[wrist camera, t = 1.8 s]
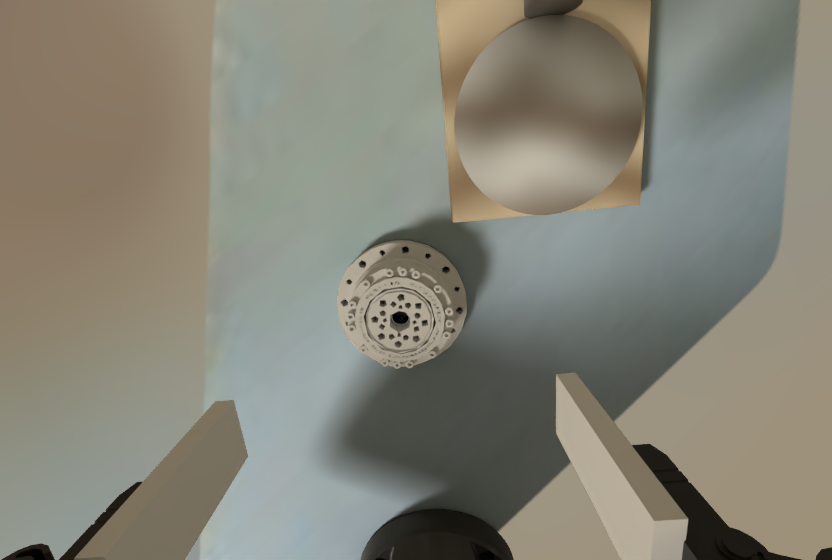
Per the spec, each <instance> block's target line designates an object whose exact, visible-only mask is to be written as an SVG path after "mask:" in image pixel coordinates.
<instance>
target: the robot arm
mask: <svg viewBox="0 0 832 560" xmlns="http://www.w3.org/2000/svg"><path fill="white" fill-rule="evenodd" d="M556 434H557V436H558V438H559V440H560V442H561V444H562V446H563V448H564V450H565V451H566V453H567V455H568V457H569V459H570V461H571V463H572V465H573V467H574V469H575V471H576V473H577V475H578V477H579V479H580V480H581V482H582V484H583V486H584V488H585V490H586V492H587V494H588V496H589V498H590V500H591V502H592V504H593V506H594V508H595V510H596V512H597V513H598V515H599V517H600V519H601V521H602V523H603V525H604V527H605V529H606V530H607V533H608V535H609V536H610V539H611V541H612V543H613V544H614V546H615V548H616V550H617V552H618V554H619V556H620V558H621V560H801V559H796V558H791V557H787V556H782V555H778V554H774V553H771V552H768V551H767V549H766V548H765V547H764V546H763V545H761V544H760V543H759V542H758V541H757V540H755V539H754V538H753V537H751V536H749V535H747V534H745V533H743V532H741V531H740V530H737V529H734V528H730V527H728V526H727V524H726V523H725V522H724V521H723V520H722V519H721V517H720V516H719V515H718V514H717V513H716V512H715V511H714V509H713V508H712V507H711V506H710V505H709V504H708V502H707V501H706V500H705V499H704V498H703V497H702V496H701V494H700V493H699V492H698V491H697V490H696V489H695V488H694V486H693V485H692V484H691V483H689V482H688V479H687V478H686V477H685V476H684V475H683V474H682V472H680V471H679V470H678V468H677V467H676V466H675V464H674V463H673V462H672V461H671V460H670V459H669V458H668V456H667V455H666V454H664V453H663V452H661V451H659V450H658V449H657V448H655V447H653V446H652V445H650V444H643V445H631V444H630V443H629V442H628V440H627V439H626V437H625V436H624V435H623V434H622V432H621V431H620V430H619V428H618V427H617V426H616V424H615V423H614V422H613V421H612V419H611V418H610V417H609V415H608V414H607V413H606V411H605V410H604V409H603V408H602V406H601V405H600V404H599V402H598V401H597V400H596V398H595V397H594V396H593V395H592V393H591V392H590V391H589V389H588V388H587V387H586V385H585V384H584V383H583V382H582V380H581V379H580V378H579V376H578V375H577V374H576V373H564V374H556ZM247 457H248V454H247V450H246V446H245V442H244V438H243V435H242V431H241V427H240V423H239V419H238V415H237V412H236V408H235V404H234V400H228V401H216V402H215V403H214V404H213V405H212V406H211V407H210V408H209V409H208V410H207V411H206V412H205V414H204V415H203V416H202V417H201V418H200V419H199V420H198V421H197V423H196V424H195V425H194V426H193V427H192V428H191V429H190V430H189V432H187V434H186V435H185V436H184V437H183V438H182V439H181V440H180V442H179V443H178V444H177V445H176V446H175V447H174V448H173V449H172V450H171V451H170V453H169V454H168V455H167V456H166V457H165V458H164V459H163V460H162V461H161V462H160V464H159V465H158V466H157V467H156V468H155V469H154V470H153V471H152V472H151V474H150V475H149V476H148V477H147V478H146V479H145V480H144V481H143V482H137V483H135V484H134V485H133V486H131V487H130V488H129V489H127V490H126V491H125V492H123V493H122V494H120V495H119V496H118V497H117V498H116V499H115V500H114V502H113V503H112V504H111V505H110V506H109V507H108V508H107V509H106V512H103V513H102V514H101V515H100V517H99V518H98V519H97V520H96V521H95V524H94V525H91V526H90V527H89V528H88V529H87V530H86V532H85V533H84V534H83V535H82V536H81V537H80V538H79V539H78V540H77V541H76V542H75V543H74V544H73V545H72V547H71V548H70V549H69V550H68V551H67V552H66V553H65V554H64V555H63V556H62V557H61V558H60V559H59V560H185V558H186V557H187V555H188V553H189V552H190V550H191V548H192V547H193V545H194V543H195V542H196V540H197V539H198V537H199V535H200V534H201V532H202V530H203V529H204V527H205V526H206V524H207V522H208V521H209V519H210V517H211V516H212V514H213V512H214V511H215V509H216V508H217V506H218V504H219V503H220V501H221V499H222V498H223V496H224V495H225V493H226V491H227V490H228V488H229V486H230V485H231V483H232V481H233V480H234V478H235V477H236V475H237V473H238V472H239V470H240V468H241V467H242V465H243V464H244V462H245V460H246V459H247ZM2 560H55V559H54V557H53V555H52V553H51V551H50V549H49V546H48V545H44V544H37V545H30V546H28V547H25V548H23V549H20V550H18V551H16V552H14V553H12V554H10V555H9V556H7V557H5V558H3V559H2ZM361 560H513V556H512V553H511V551H510V548H509V547H508V545H507V543H506V542H505V540H504V539H503V538H502V536H501V535H500V534H499V533H498V532H497V531H496V530H494V529H493V528H492V527H491V526H489V525H488V524H486V523H485V522H483V521H481V520H479V519H477V518H475V517H472V516H469V515H467V514H463V513H459V512H454V511H447V510H428V511H420V512H415V513H411V514H408V515H405V516H402V517H399V518H397V519H395V520H393V521H391V522H390V523H388V524H386V525H385V526H384V527H382V528H381V529H380V530H379V531H377V532H376V533H375V534H374V536H373V537H372V538H371V539H370V540H369V542H368V543H367V545H366V547H365V549H364V551H363V554H362V557H361ZM816 560H832V548H826V549H822V550H821V551H820V552H819V553H818V555H817V556H816Z"/></svg>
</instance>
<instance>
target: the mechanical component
mask: <svg viewBox="0 0 832 560" xmlns="http://www.w3.org/2000/svg"><path fill="white" fill-rule="evenodd" d="M405 246H407V247H408V248H409V251H404V250H403V249H402V248H403V247H405ZM381 250H384V252H385V253H382V252H381ZM426 253H427V254H430V255H429V256H426ZM361 260H362V261H364V262H366V265H363V264H362V263H361ZM445 266H446V267H449V268H448V270H443V269H442V268H444V267H445ZM349 279H350V280H351V281H350V280H349ZM455 287H457V288H455ZM344 299H345V300H346V301H347V302H345V301H344ZM369 302H370V304H369ZM458 307H460V309H457V308H458ZM337 311H338V315H339V319H340V323H341V326H342V328H343V330H344V331H345V333H346V335H347V337H348V339H349V340H350V342H352V343H353V344H354V345H355V346H356V347H357V348H358V349H359V350H360V351H361V353H362V354H363V353H364V354H366V355H367V356H368V357H370V358H372V359H373V360H375V361H377V362H379V363H381V364H382V366H384V367H385V366H388V365H389V366H392V367H394V368H395V369H399V368H400V367H407V368H412V367H413V366H414V365H417V364H420V363H423V362H426V361H428V360H431V359H433V358H435V357H437V356H438V355H439V354H441V353H442V352H443V351H445V350H446V349H447V348H449V347H450V346H451V345H452V344H453V342H454V341H455V339H456V338H457V336H458V335H459V333H460V332H461V330H462V327H463V324H464V320H465V317H466V313H467V303H466V291H465V288H464V285H463V283H462V280H461V278H460V276H459V273H458V271H457V269H456V268H455V267H454V266H453V265H452V264H451V262H450V261H449V260H448V259H447V258H446V257H445V256H444V255H443V254H441V253H440V252H438V251H437V250H435V249H434V248H432V247H431V246H429V245H426V244H422V243H418V242H414V241H410V240H394V241H389V242H384V243H381V244H378V245H376V246H374V247H372V248H370V249H368V250H366V251H365V252H364V253H363V254H362V255H360V256H359V257H358V258H357V259H356V260H355V261H354V262H353V263H352V264H351V266H350V267H349V268H348V270H347V272H346V273H345V275H344V277H343V278H342V280H341V284H340V287H339V290H338V298H337ZM394 313H395V314H396V315H397V316H399V315H404V316H406V315H408V316H409V318H408V321H407V322H406V323H403V322H404V320H403V317H404V316H400V317H401V318H399V323H396V322H394V320H393V318H392V314H394Z"/></svg>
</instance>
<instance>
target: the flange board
mask: <svg viewBox="0 0 832 560" xmlns="http://www.w3.org/2000/svg"><path fill="white" fill-rule="evenodd" d="M436 13H437V26H438V40H439V53H440V67H441V80H442V94H443V108H444V121H445V135H446V148H447V162H448V175H449V189H450V202H451V216H452V221H453V223H456V222H467V221H477V220H487V219H497V218H507V217H518V216H528V215H549V214H555V213H561V212H569V211H579V210H589V209H600V208H610V207H620V206H630V205H640V195H641V177H642V159H643V141H644V122H645V104H646V86H647V68H648V49H649V31H650V13H651V0H436Z"/></svg>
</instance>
